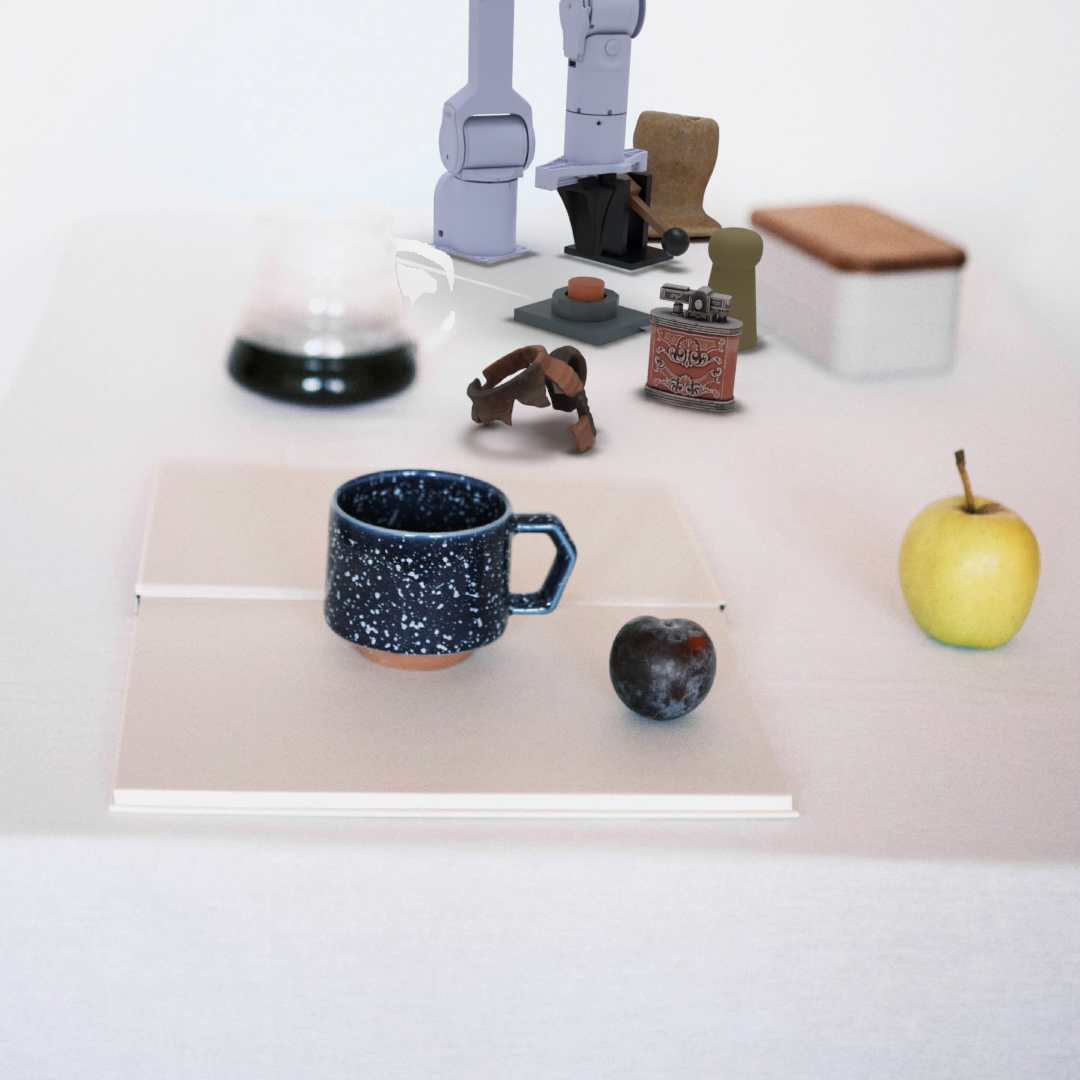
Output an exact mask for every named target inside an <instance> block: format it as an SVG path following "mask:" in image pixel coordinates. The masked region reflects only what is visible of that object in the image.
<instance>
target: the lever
mask: <svg viewBox="0 0 1080 1080" xmlns="http://www.w3.org/2000/svg"><path fill="white" fill-rule="evenodd" d="M617 176H618V177H623V178H627V179H631V178H630V177H629V176H628V175H627V174H626V173H622V174H618V175H617ZM640 190H641V187H640V186H639V185H638V184H637V183H636V182H635V181H633V180H632V179H631V186H630V201H629V205H630V206H631V207H632V208H633V209H634V210H635V211H636V212H637V213H638V214H639V215H640V216H641V217H642V218H643V219H644V220H645V221H646V222H647V223H648V224H649V225H650V226H651V227H652V228H653V229H654V230H655V231H656V232H657V233H658V234H659V235H660V236H661V237H662V238H660V239H661V240H660V244H661V249H663V250H664V251H665V253H667V254H668V255H670V256H674V257H680V256H682V255H684V254H686V252H687V251H688V250H689V248H690V244H691V239H690V238H691V237H690V238H689V235H688V234H687V232H686V231H685V230H683V229H681V228H678V227H674V228H670V227H669V226H668V225H667V224H666V223H665V222H664V221H663V220H662V219H660V218H659V217H658V216H657V215H656V214H655V213H654V212H653V211H652V210H651V209H650V208H649V207H648V206H647V205H646V204H645V203H644V202H643V201H642V200H641V199H640V198H639V197H638V196H637V195H638V194H639V192H640Z"/></svg>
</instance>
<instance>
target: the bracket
mask: <svg viewBox="0 0 1080 1080" xmlns="http://www.w3.org/2000/svg"><path fill="white" fill-rule="evenodd" d="M626 174H627V175H628V176H629V177H630V178H631V179H632V180H633V181H635V182H636V183H637V184H638V185H639V186H640V187H641V190H640V192H639V194H638V195H637V196H638V197H639V198H640V199H641V200H642V201H643V202H644V203H645V204H646V205H647V206H648V207H649V208H650V202H651V189H652V176H653V175H652V174H647V173H643V172H637V171H632V172H627V173H626ZM617 179H620V180H625V181H627V182H628V192H627V193H626V194H625V196H624V197H623V199H622V200H621V202H620V204H619V205H618V207H617V209H616V211H615V213H614V216H613V218H612V220H611V223H610V226H609V229H608V232H607V235H606V238H605V241H604V245H603V248H602V251H601V254H600V255H599V256H595V257H588V256H584V255H580V254H577V253H576V248H575V243H572V244H569V245H566V246H564V247H563V253H564V254H567V255H570V256H573V257H577V258H582V259H585V260H589V261H593V262H596V263H601V264H605V265H608V266H612V267H615V268H620V269H624V270H627V271H631V272H632V271H636V270H638V269H639V270H640V269H642V268H646V267H649V266H653V265H657V264H660V263H663V262H666V261H670V260H673V259H674V258H675V256H670V255H668V254H667V253H665V251H664V250H663V248H659V247H656V246H651V245H648V241H649V240H648V239H649V238H648V229H649V224H648V223H647V222H646V221H645V220H644V219H643V218H642V217H641V216H640V215H639V214H638V213H637V212H636V211H635V210H634V209H633V208H632V207H631V206H630V205H629V201H630V186H631V179H627V178H623V177H618V176H617Z"/></svg>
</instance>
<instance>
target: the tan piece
mask: <svg viewBox="0 0 1080 1080" xmlns="http://www.w3.org/2000/svg"><path fill="white" fill-rule="evenodd" d="M719 144H720V126H719V123H718V122H717V121H716V120H715V119H713V118H710V117H704V116H694V115H685V114H682V113H681V114H680V113H674V112H667V111H657V110H644V111H641V112H640V113H639V115H638V118H637V120H636V123H635V128H634V131H633V133H632V148H634V149H639V150H644V151H648V156H647V169H646V171H643V173H647V174H652V175H653V176H652V189H651V202H650V209H651V210H652V211H653V212H654V213H655V214H656V215H657V216H658V217H659V218H660V219H662V220H663V221H664V222H665V223H666V224H667V225H668V226H669V227H670V228H674V227H678V228H681V229H683V230H685V231H686V232H687V234H688V235H689V238H704V237H711V236H712V234H713V233H714V232H715V231H717V230H719V229H721V228H723V227H722V225H721V224H720V223H719V222H718V221H717V220H716V219H714V218H713V217H711V216H710V215H708V213H706V211H705V209H704V198H705V192H706V190H707V187H708V184H709V182H710V180H711V177H712V175H713V173H714V170H715V167H716V164H717V160H718V155H719V146H720V145H719ZM648 239H662V237H661V236H660V235H659V234H658V233H657V232H656V231H655V230H654V229H653V228H652V227H651V226H650V225H649V229H648Z"/></svg>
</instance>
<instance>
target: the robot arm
mask: <svg viewBox="0 0 1080 1080" xmlns="http://www.w3.org/2000/svg"><path fill="white" fill-rule="evenodd" d="M558 4H559V5H558V14H559V21H560V27H561V30H562V50H563V56H564V58H567V77H566V78H567V80H566V96H565V97H566V98H565V99H566V100H565V119H564V137H563V139H564V140H563V155H560V156H559V157H557V158H555V159H552V160H551V161H549V162H547V163H543V164H540V165H537V166H535V173H534V174H535V175H534V187H535V188H536V189H541V190H545V191H549V192H553V191H556V192H557V193H558V195H559V197H560V199H561V201H562V204H563V205H564V208H565V211H566V213H567V216H568V220H569V223H570V228H571V233H572V237H573V244H575V248H576V253H577V254H580V255H584V256H588V257H595V256H599V255H600V254H601V251H602V248H603V245H604V241H605V238H606V235H607V232H608V229H609V226H610V223H611V220H612V218H613V216H614V213H615V211H616V209H617V207H618V205H619V204H620V202H621V200H622V199H623V197H624V196H625V194H626V193H627V192H628V182H627V181H625V180H620V179H617V175H618V174H622V173H627V172H632V171H637V172H643V171H646V169H647V156H648V151H644V150H639V149H634V148H633V147H631V148H625V145H626V133H627V132H626V130H627V118H628V117H627V114H628V101H629V85H630V69H631V57H632V56H631V55H632V40H633V39H635V38H637V37H638V36H639V35H640V33H641V31H642V29H643V27H644V23H645V20H646V14H647V13H646V12H647V0H560V1H559V2H558ZM514 30H515V0H468V47H467V49H468V53H467V83H466V84H465V85H463V87H461V88H460V89H459V90H458V91H457V92H455V93H454V94H453V95H452V96H450V97H449V98H448V99H446V100H445V102H443V107H442V115H441V116H442V117H441V124H440V128H439V131H438V132H439V133H438V151H439V157H440V161H441V163H442V165H443V167H444V168H445V170H446V171H445V172H444V173H442V175H440V177H439V178H438V180H437V182H436V184H435V187H434V193H433V242H432V243H429V244H430V245H431V246H434V247H435V248H434V249H436V248H437V250H440V251H444V252H448V253H450V254H454V255H458V256H460V257H461V256H462V257H465V258H469V259H472V260H475V261H479V262H483V263H490V262H494V261H497V260H503V259H505V258H509V257H513V256H516V255H520V254H525V253H529V252H532V248H529V247H526V246H522V245H518V244H517V216H518V215H517V213H518V184H519V183H518V182H519V179H520V178H524V171H526V170H528V169H529V168H530V166H531V164H532V163H533V161H534V158H535V154H536V133H535V129H534V124H533V109H532V108H533V107H532V105H531V104H530V102H529V101H528V100H526V98H525V97H524V96H523V95H521V94H520V93H519V92H518V91H516V90H515V89H514V88H513V72H514V71H513V69H514V33H515V32H514Z"/></svg>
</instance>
